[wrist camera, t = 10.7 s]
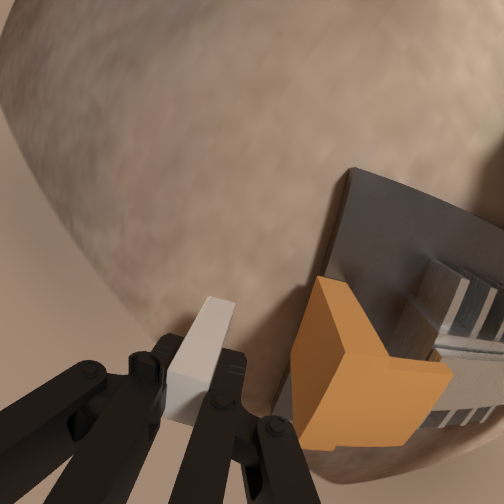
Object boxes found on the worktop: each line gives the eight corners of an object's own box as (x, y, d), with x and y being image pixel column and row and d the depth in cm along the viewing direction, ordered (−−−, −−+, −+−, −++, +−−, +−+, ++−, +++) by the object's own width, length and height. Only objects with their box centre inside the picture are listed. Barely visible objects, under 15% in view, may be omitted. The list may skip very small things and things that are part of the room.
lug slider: (317, 275, 18) (345, 352, 10) (398, 295, 17) (459, 365, 9) (290, 353, 19) (293, 447, 11) (365, 366, 19) (397, 451, 11)
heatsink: (349, 167, 17) (403, 162, 9) (557, 264, 17) (605, 289, 9) (271, 405, 23) (266, 484, 14) (483, 413, 22) (510, 456, 14)
